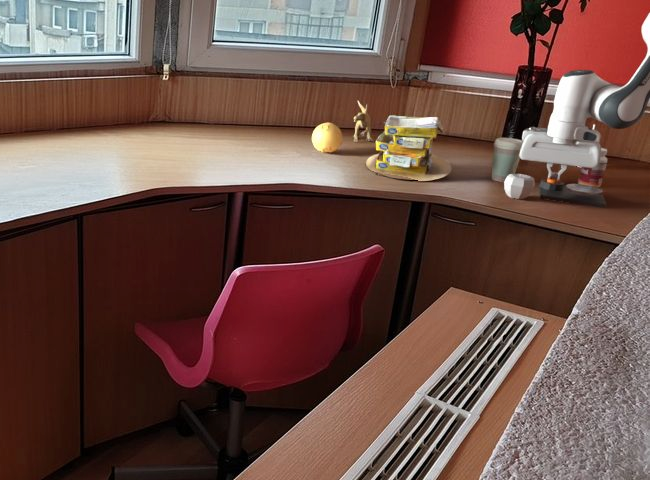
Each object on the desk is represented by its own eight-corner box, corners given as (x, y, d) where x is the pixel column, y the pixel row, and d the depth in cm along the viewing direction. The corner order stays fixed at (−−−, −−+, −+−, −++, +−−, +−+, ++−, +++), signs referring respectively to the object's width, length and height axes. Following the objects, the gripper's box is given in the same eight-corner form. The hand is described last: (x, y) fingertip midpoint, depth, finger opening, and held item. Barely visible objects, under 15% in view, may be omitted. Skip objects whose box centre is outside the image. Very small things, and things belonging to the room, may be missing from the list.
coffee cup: (515, 185, 210) (524, 144, 205) (484, 180, 214) (492, 140, 209) (518, 179, 217) (527, 139, 212) (488, 174, 220) (496, 135, 216)
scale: (600, 195, 203) (602, 185, 202) (605, 208, 191) (608, 197, 190) (538, 187, 209) (540, 177, 208) (539, 199, 197) (542, 188, 196)
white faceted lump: (504, 200, 194) (509, 176, 192) (497, 192, 202) (502, 169, 199) (535, 203, 193) (541, 179, 191) (527, 195, 200) (533, 172, 198)
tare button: (557, 184, 204) (559, 178, 204) (558, 186, 202) (559, 180, 201) (546, 182, 206) (547, 177, 205) (546, 185, 203) (547, 179, 202)
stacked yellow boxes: (435, 186, 205) (445, 128, 198) (353, 171, 217) (361, 116, 211) (458, 170, 224) (469, 117, 217) (382, 157, 236) (389, 106, 230)
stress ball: (308, 153, 237) (311, 123, 233) (312, 147, 246) (316, 118, 242) (338, 157, 234) (342, 126, 230) (342, 151, 243) (345, 121, 239)
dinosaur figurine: (349, 146, 250) (354, 107, 245) (352, 132, 274) (357, 96, 269) (371, 148, 249) (377, 109, 244) (373, 133, 272) (378, 98, 267)
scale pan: (600, 188, 198) (601, 186, 198) (604, 196, 191) (604, 194, 190) (564, 184, 201) (565, 182, 201) (566, 191, 194) (567, 189, 194)
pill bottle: (574, 181, 217) (583, 145, 213) (595, 183, 216) (605, 147, 212) (581, 187, 211) (591, 150, 207) (603, 188, 210) (613, 151, 206)
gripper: (524, 127, 199) (513, 176, 204) (607, 136, 192) (594, 186, 197) (524, 124, 204) (513, 171, 209) (604, 132, 197) (592, 181, 202)
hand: (553, 179), depth 203 cm, fingers closed, pressing on tare button
